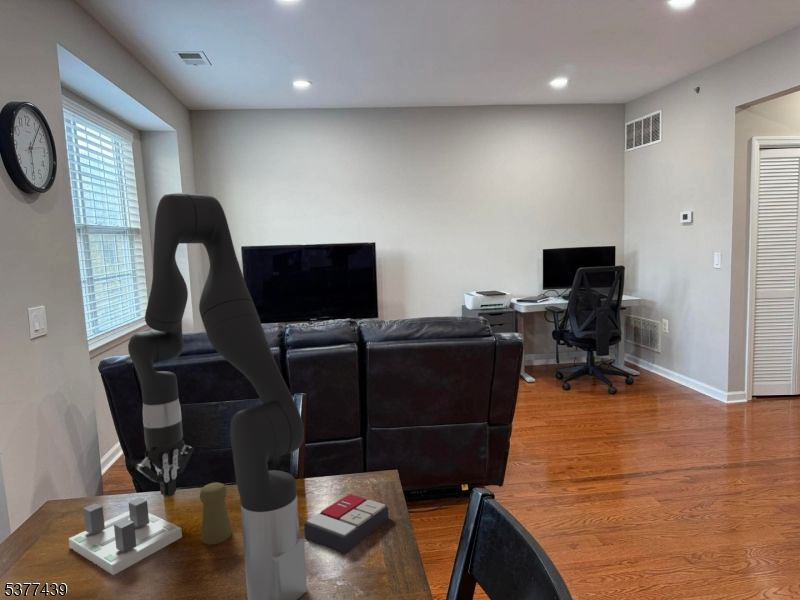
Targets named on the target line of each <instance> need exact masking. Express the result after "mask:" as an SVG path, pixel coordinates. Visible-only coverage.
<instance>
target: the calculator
mask: <svg viewBox="0 0 800 600" xmlns="http://www.w3.org/2000/svg"><path fill="white" fill-rule="evenodd" d="M387 519H388V520H389V506H387V505H386V504H384V503H382V502H378V501H375V500H371V499H366V498H365V497H362V496H358V495H355V494H352V493H349V494H348V495H346V496H344V497H342V498H340V499H339V500H337V501H336V502H334V503H333V504H331V505H329V506H327V507H326V508H324V509H323V510H321V511H320V513H319V512H318V513H317V514H316V515H314V516H312V517H311V518H308V519H307V520H306V521H305V522H304V525H303V527H304V529H303V531H304V539H305V540H306V539H307V540H306V541H309V540H310V542H311V541H312V543H314V544H316V543H317V545H319V546H322V547H324V546H325V548H326V547H327V549H329V548H330V549H329V550H331V549H332V551H334V550H335V552H336V551H337V553H339V552H340V554H342V555H347V554H348V553H350V552H351V551H352V550H353V549H354V548H356V547H357V546H358V545H359V544H360V542H361V541H363V540H364V539H365V538H366V536H367V537H368V536H369V535H371V534H372V533H373V532H374V531H376V530H377V529H378V528H379V527H380V526H382V525H383V524H384V523H385V522H386V521H388V520H387ZM385 520H386V521H385ZM384 521H385V522H384ZM383 522H384V523H383ZM382 523H383V524H382ZM381 524H382V525H381ZM379 525H380V526H379ZM378 526H379V527H378ZM377 527H378V528H377ZM376 528H377V529H376ZM375 529H376V530H375ZM371 532H372V533H371ZM370 533H371V534H370ZM358 543H359V544H358ZM357 544H358V545H357ZM356 545H357V546H356ZM351 549H352V550H351ZM350 550H351V551H350Z"/></svg>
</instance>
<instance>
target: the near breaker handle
mask: <svg viewBox="0 0 800 600" xmlns="http://www.w3.org/2000/svg"><path fill="white" fill-rule="evenodd" d="M114 531H115V541H116V549H118V550H120V551H121V552H123V553H125V552H127V551H129V550H131V549H133V548H135V547H136V537H135V527H134V522H133V521H131V520H129V519H127V518H126V519H124V520H122V521H119V522H117V523H115V524H114Z"/></svg>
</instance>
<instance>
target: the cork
mask: <svg viewBox="0 0 800 600" xmlns="http://www.w3.org/2000/svg"><path fill="white" fill-rule="evenodd" d="M226 497H227V488H226V485H225V484H224V483H221V482H211V483H208V484H205V485H204V486H203V487H202V488H201V489H200V492H199V499H200V501H201V503H202V518H201V519H202V521H201V534H200V535H201V536H200V539H201V540H200V541H201V542H202V543H203V544H205V545H217V544H220V543H224V542H225V541H227V540H228V539H230V538H231V536H232V534H233V533H232V532H233V531H232V527H231V522H230V518H229V513H228V509H227V505H226V500H225V499H226Z"/></svg>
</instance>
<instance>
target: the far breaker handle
mask: <svg viewBox="0 0 800 600" xmlns="http://www.w3.org/2000/svg"><path fill="white" fill-rule="evenodd" d="M82 511H83V517H84V518H83V519H84V527H85V531H86V532H88V533H90V534H92V535H94V534H96V533H98V532H100V531H102V530H104V529H105V526H104V522H105V520H104V508H103V505H101V504H99V503H96V502H95V503H92V504H90V505H88V506H85V507H83V510H82Z"/></svg>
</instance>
